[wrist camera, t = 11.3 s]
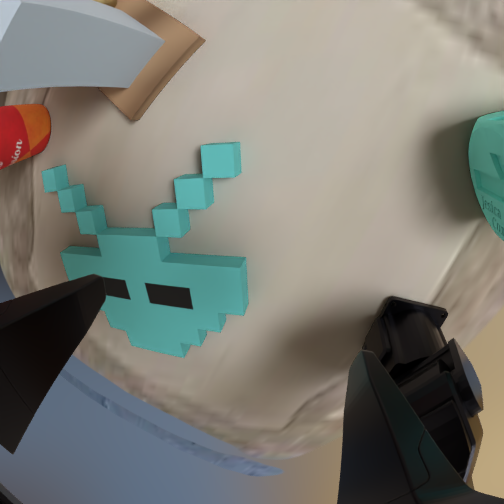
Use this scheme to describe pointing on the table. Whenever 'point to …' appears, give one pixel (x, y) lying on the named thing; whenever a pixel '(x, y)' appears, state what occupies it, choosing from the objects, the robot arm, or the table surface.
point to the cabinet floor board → (163, 61)
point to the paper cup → (23, 132)
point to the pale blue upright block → (71, 45)
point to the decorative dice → (489, 167)
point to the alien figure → (159, 262)
